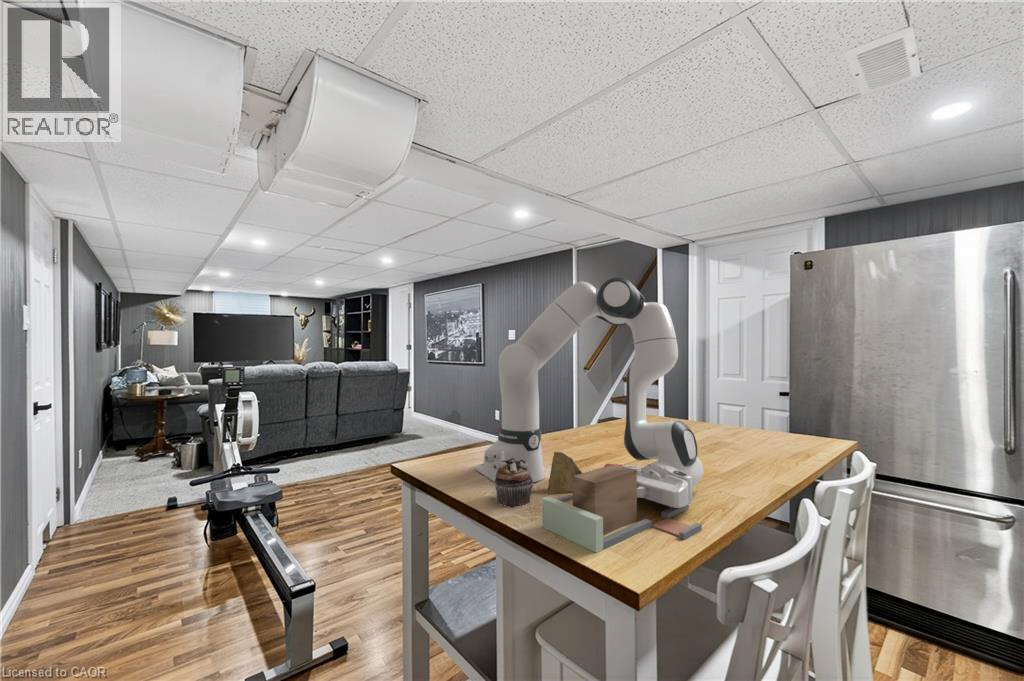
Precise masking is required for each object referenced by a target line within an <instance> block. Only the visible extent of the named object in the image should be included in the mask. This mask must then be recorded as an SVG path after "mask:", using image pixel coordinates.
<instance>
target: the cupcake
mask: <svg viewBox="0 0 1024 681" xmlns="http://www.w3.org/2000/svg"><path fill="white" fill-rule="evenodd" d="M527 468H528V464H527V463H526V462H525V461H524V460H520V461H516V460H514V458H512V459H508V460H507V461H502V462H501V463H499V469H498V471H497V473H496V476H497V477H496V479H495V482H494V485H495V491H496V495H497V496H496V497H497V502H498V504H500V505H501V504H502V505H501V506H504V505H506V506H505V507H508V506H512V507H511V508H514V507H513V506H520V507H524V506H527V505H528V504H529V503H530V502H531V495H532V489H533V485H534V482H533V480H532V478H531V476H530V472H529V470H528V469H527ZM526 504H527V505H526ZM523 505H524V506H523Z"/></svg>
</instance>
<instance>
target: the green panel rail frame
mask: <svg viewBox="0 0 1024 681" xmlns="http://www.w3.org/2000/svg"><path fill="white" fill-rule="evenodd" d="M541 501H542V528H544V529H546V530H548V531H550V532H552V533H554V534H556V535H558V536H560V537H562V538H564V539H567V540H569V541H570V542H573V543H575V544H577V545H578V546H581V547H583V548H584V549H587V550H589V551H591V552H594V553H595V554H596V553H599V552H601V551H603V550H605V549H609V548H610V547H612V546H614V545H616V544H618V543H620V542H622V541H625V540H626V539H629V538H630V537H633V536H635V535H637V534H640V533H642V532H643V531H645V530H648V529H650V528H654V529H657V530H660V531H663V532H665V533H668V534H670V535H673V536H676V537H678V538H679V539H680V540H683V539H685V540H686V539H688V538H690V537H691V536H693V535H696V534H697V533H699V532H701V531H702V530H703V527H702V526H703V525H702V523H699V522H696V523H694V524H691V525H689V524H687V523H683V522H681V521H678V520H675V519H672V518H674V517H675V515H676V516H678V515H680V514H682V513H684V512H685V511H688V510H690V509H689V507H690V504H688V505H686V506H684V507H681V508H673V507H668V508H666V509H665V510H662V511H661V512H660V516H661V518H662V519H663V520H660V521H658V522H656V523H653V521H652V520H650V519H648V518H644V519H642V520H640V521H638V522H637V521H636V522H635V523H633V524H631V525H628V526H627V527H624V528H620V529H619V530H617V531H615V532H613V533H612V532H611V533H610V534H608V535H606V536H604V535H603V517H600V516H598V515H595V514H593V513H590V512H588V511H585V510H582V509H580V508H577V507H575V506H573V494H569V495H564V496H562V497H559V498H554V497H551V496H546V497H543V498H542V500H541ZM683 511H684V512H683ZM681 512H682V513H681ZM679 513H680V514H679ZM677 514H678V515H677ZM665 518H666V519H665Z"/></svg>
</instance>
